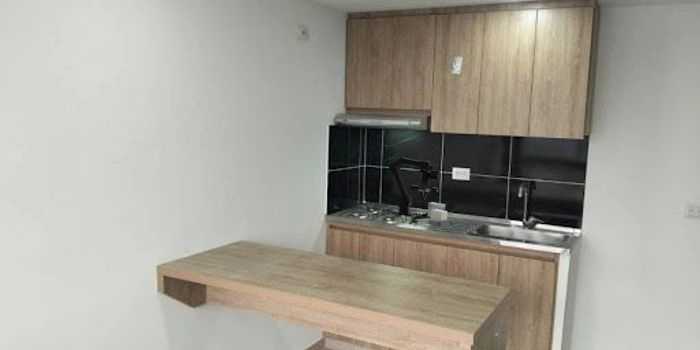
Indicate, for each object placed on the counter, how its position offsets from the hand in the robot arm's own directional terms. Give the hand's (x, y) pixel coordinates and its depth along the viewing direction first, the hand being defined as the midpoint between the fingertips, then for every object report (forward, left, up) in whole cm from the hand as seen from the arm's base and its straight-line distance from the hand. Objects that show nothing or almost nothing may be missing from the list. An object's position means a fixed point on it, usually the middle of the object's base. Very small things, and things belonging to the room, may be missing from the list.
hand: (423, 200), depth 380 cm
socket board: (+10, -11, -13) cm, 20 cm away
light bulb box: (+8, +10, -13) cm, 18 cm away
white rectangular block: (+14, -13, -12) cm, 23 cm away
